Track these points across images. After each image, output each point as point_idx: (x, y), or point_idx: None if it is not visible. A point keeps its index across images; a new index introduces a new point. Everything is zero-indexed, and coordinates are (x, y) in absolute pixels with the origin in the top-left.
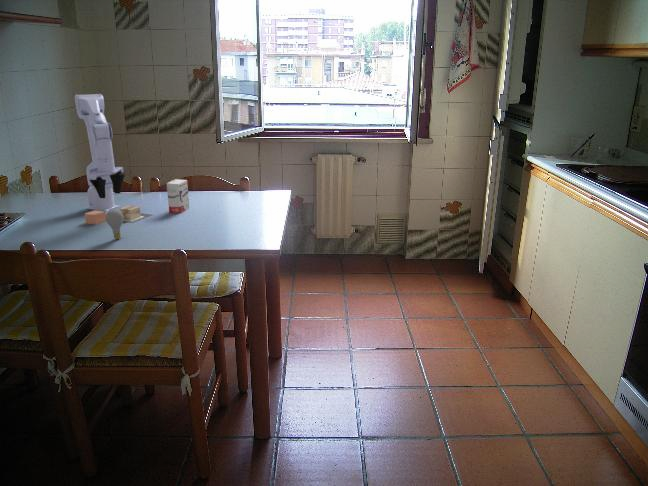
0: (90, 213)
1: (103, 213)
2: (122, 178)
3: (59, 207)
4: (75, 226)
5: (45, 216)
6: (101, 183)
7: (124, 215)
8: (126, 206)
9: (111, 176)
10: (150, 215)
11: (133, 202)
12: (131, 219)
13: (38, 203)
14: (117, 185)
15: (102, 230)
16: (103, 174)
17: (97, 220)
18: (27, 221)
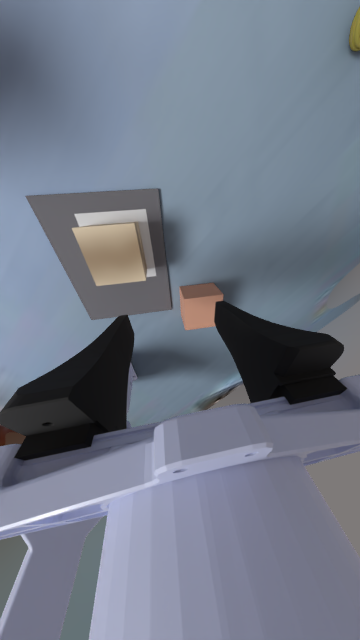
0: (213, 316)
1: (191, 296)
2: (64, 369)
3: (155, 402)
4: None
5: (197, 384)
6: (311, 332)
7: (143, 255)
8: (111, 282)
9: (121, 420)
10: (45, 204)
11: (32, 362)
12: (137, 222)
13: (156, 422)
14: (119, 347)
15: (247, 228)
16: (330, 415)
17: (211, 287)
18: (224, 380)
